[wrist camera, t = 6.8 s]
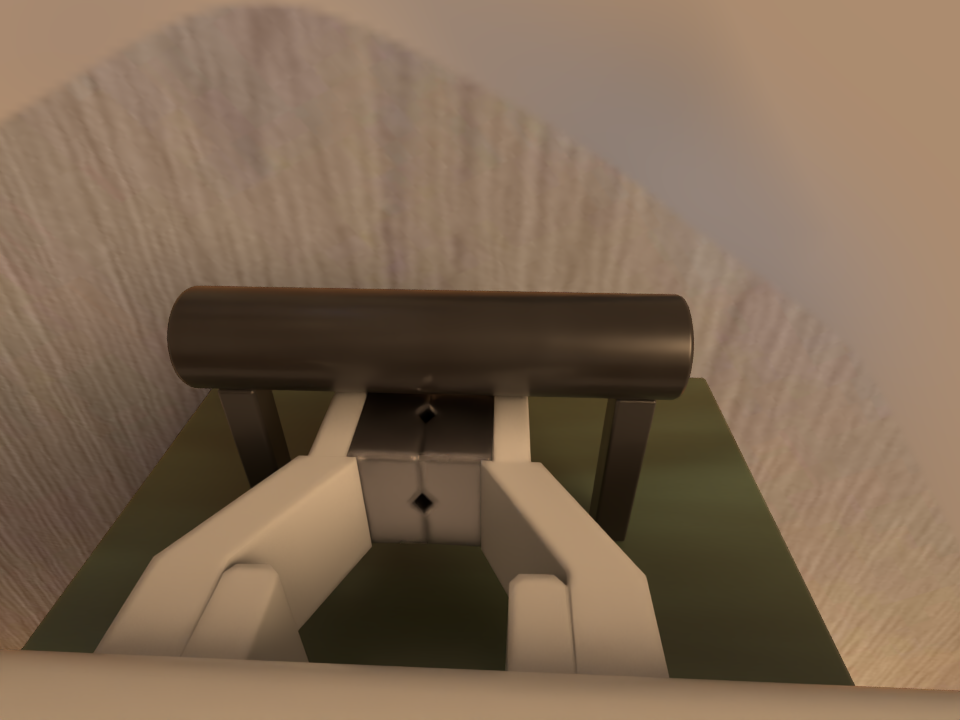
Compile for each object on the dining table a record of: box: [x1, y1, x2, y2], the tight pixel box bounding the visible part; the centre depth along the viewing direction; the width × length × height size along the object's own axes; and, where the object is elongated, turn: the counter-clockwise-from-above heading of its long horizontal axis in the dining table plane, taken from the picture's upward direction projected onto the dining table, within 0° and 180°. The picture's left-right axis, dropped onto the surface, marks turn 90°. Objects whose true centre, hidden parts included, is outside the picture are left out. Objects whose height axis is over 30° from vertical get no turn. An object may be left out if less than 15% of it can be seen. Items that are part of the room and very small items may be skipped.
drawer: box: [21, 286, 855, 686], centre depth 14 cm, size 18×12×8 cm
